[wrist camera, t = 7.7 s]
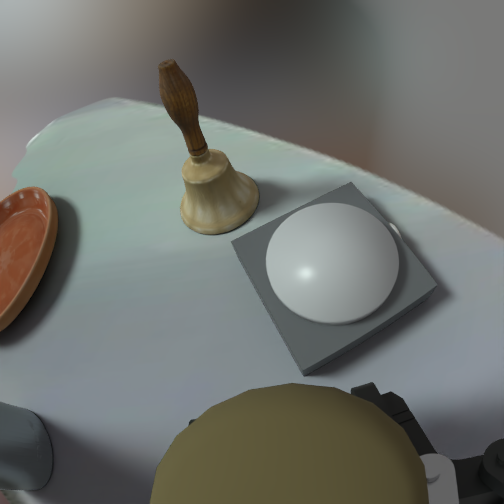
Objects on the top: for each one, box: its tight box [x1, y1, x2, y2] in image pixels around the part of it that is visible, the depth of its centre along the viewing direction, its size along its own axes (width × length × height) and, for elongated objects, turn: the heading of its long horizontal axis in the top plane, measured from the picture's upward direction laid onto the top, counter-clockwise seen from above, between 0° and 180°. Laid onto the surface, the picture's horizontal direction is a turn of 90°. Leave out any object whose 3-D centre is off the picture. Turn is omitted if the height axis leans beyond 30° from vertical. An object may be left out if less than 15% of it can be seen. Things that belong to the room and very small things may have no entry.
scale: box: [231, 182, 437, 376], centre depth 25 cm, size 12×12×4 cm
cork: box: [150, 383, 429, 504], centre depth 8 cm, size 6×6×11 cm
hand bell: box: [158, 59, 259, 235], centre depth 26 cm, size 8×8×16 cm
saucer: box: [0, 187, 58, 332], centre depth 34 cm, size 23×23×4 cm
